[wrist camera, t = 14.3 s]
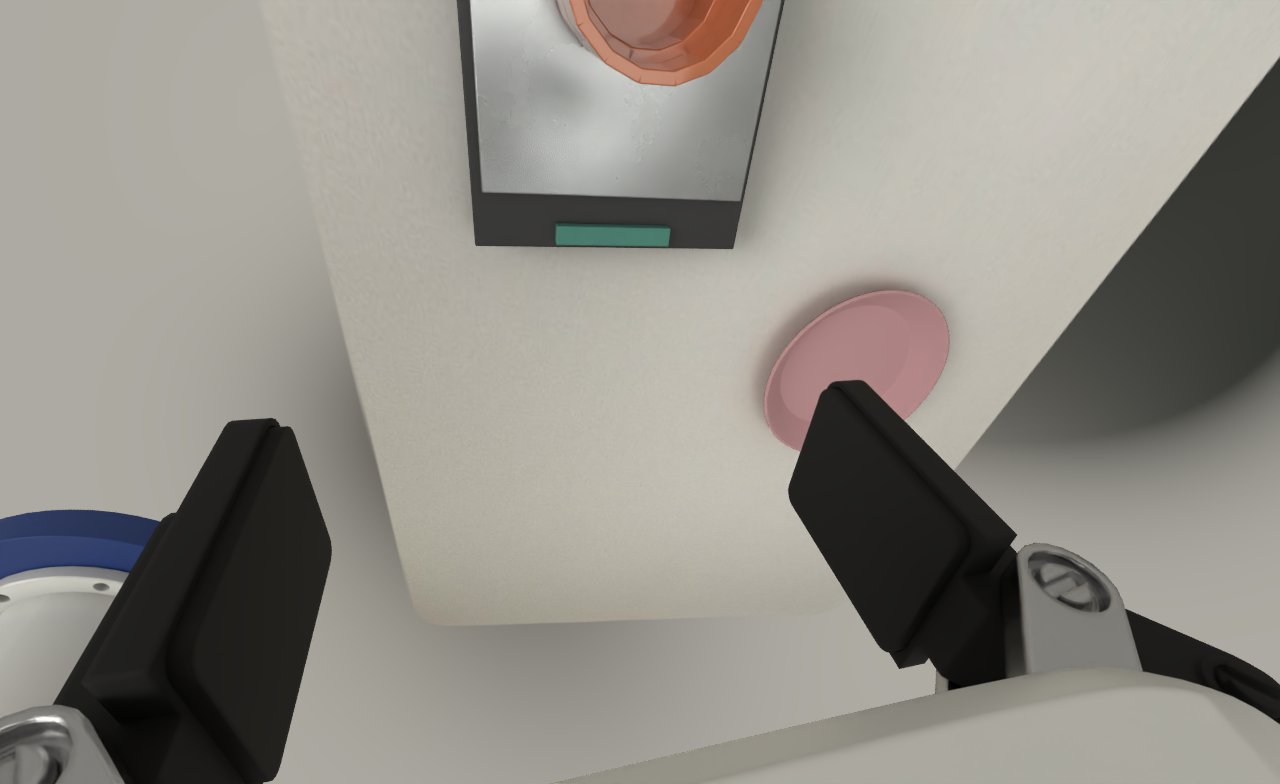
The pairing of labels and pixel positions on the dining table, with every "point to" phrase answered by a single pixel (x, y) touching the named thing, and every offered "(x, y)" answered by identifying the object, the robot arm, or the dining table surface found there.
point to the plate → (858, 358)
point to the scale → (603, 136)
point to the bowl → (660, 35)
